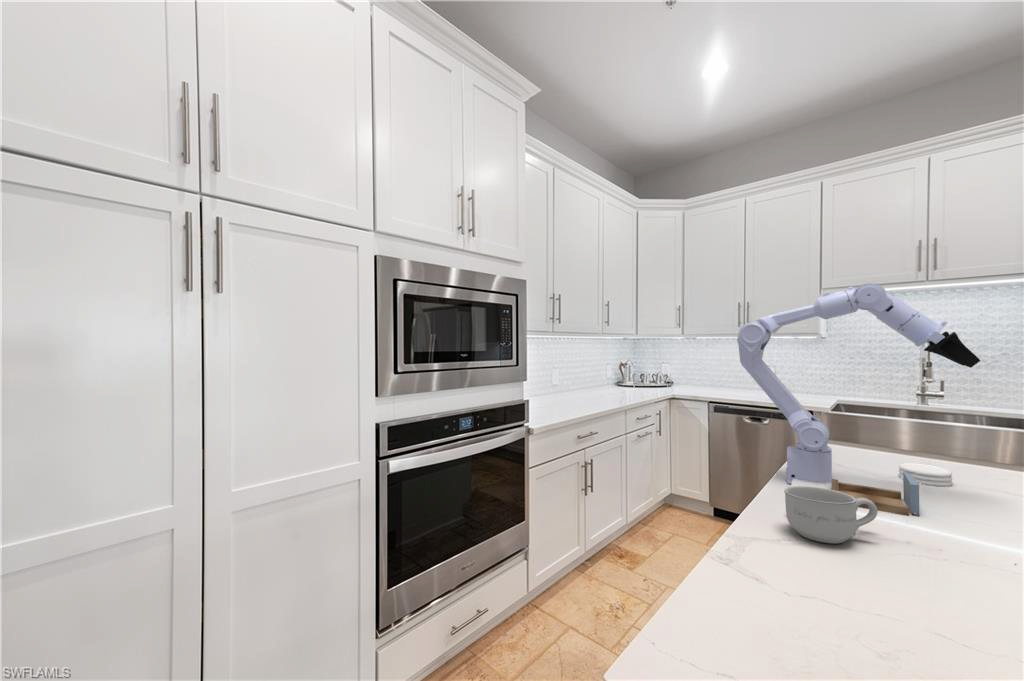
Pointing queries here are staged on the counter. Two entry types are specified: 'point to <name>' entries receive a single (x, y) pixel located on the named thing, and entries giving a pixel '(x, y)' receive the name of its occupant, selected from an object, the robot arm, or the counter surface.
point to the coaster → (927, 474)
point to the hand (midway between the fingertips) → (971, 363)
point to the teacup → (825, 513)
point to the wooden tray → (874, 497)
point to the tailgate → (911, 493)
